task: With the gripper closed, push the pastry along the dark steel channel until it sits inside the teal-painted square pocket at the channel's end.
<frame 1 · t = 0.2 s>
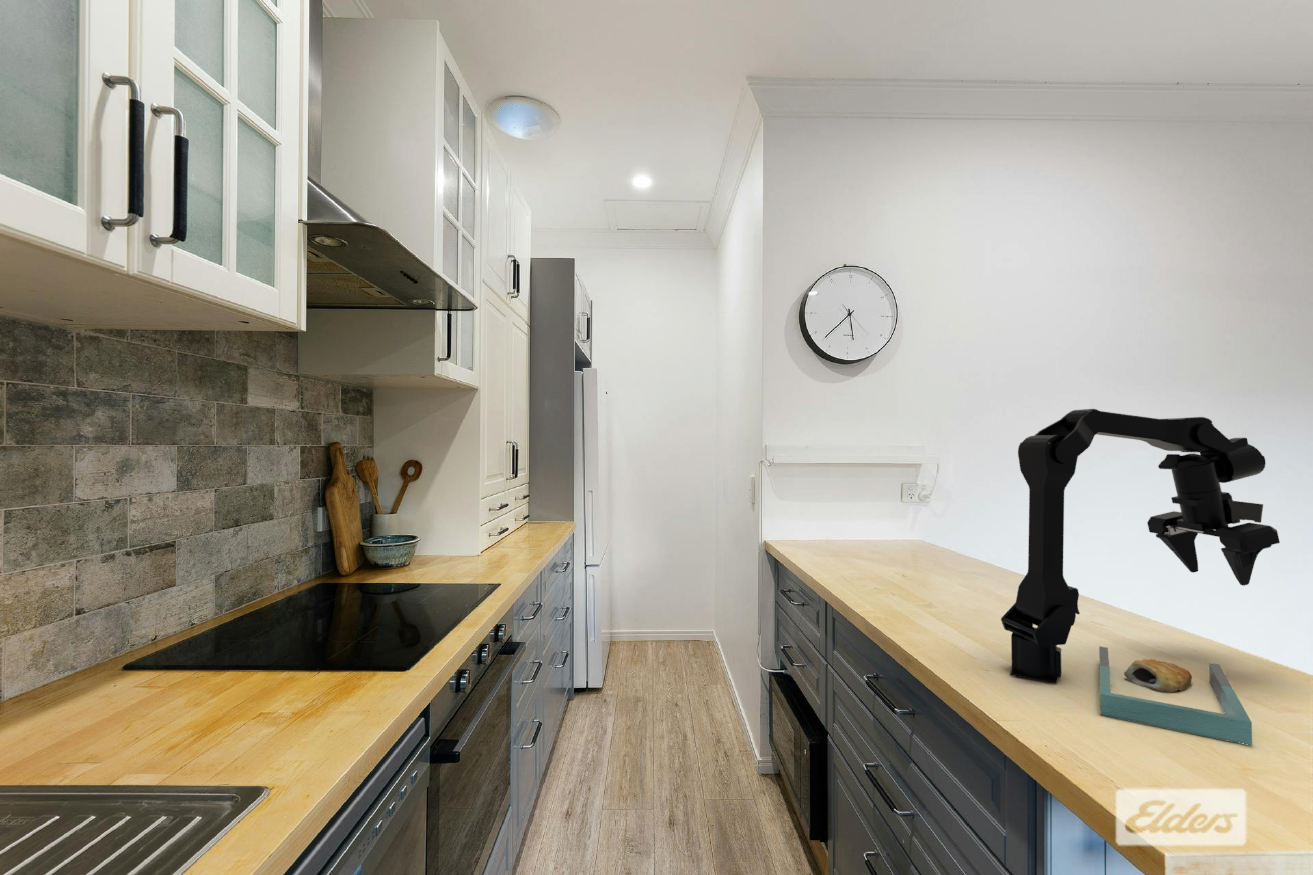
hand: (1218, 578, 103), 15 cm above the worktop, tool pointing down, fingers open, 9 cm apart
rail pocket: (1166, 710, 87), on the worktop
pastry: (1158, 685, 96), on the worktop
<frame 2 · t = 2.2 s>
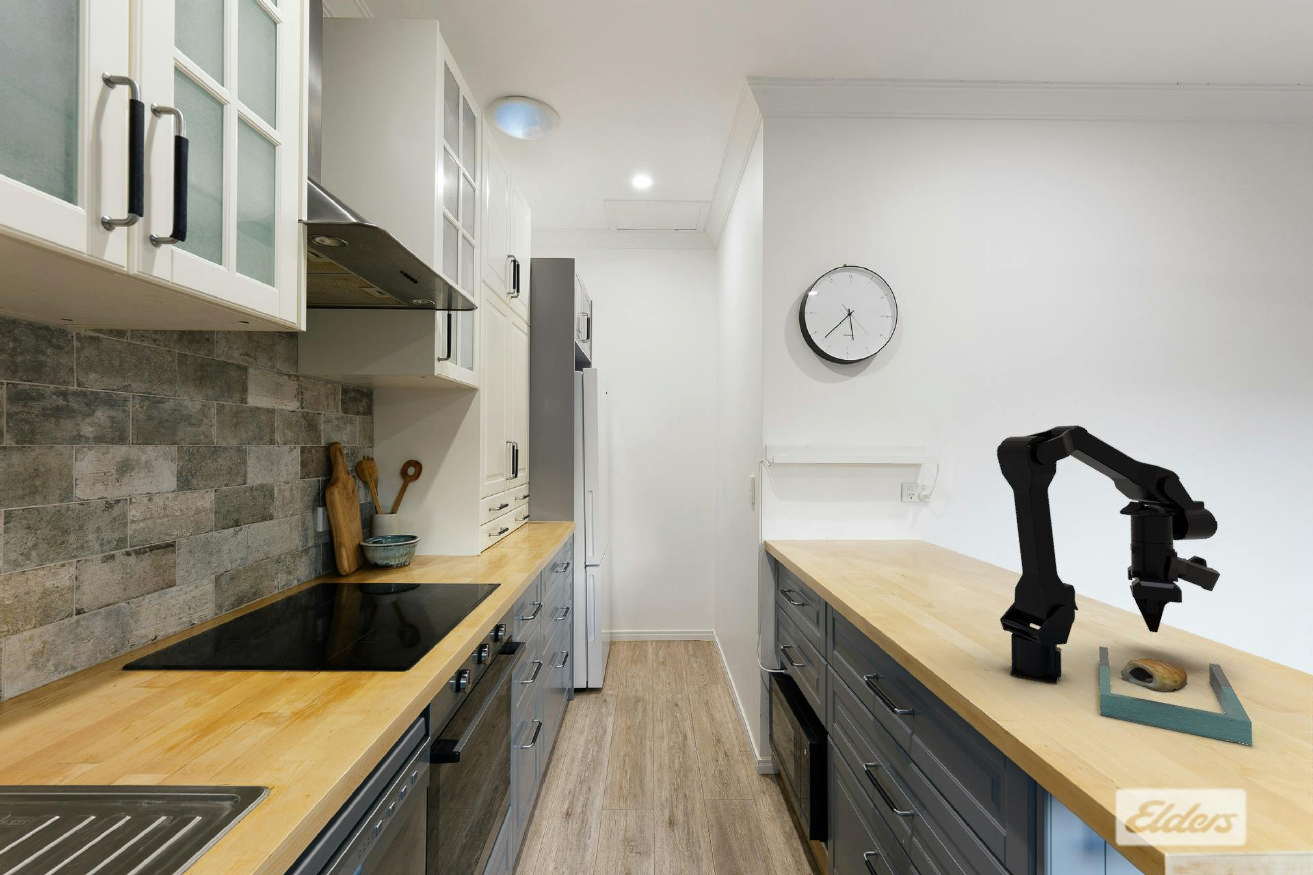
hand: (1153, 631, 104), 6 cm above the worktop, tool pointing down, fingers closed
nothing on the worktop moved.
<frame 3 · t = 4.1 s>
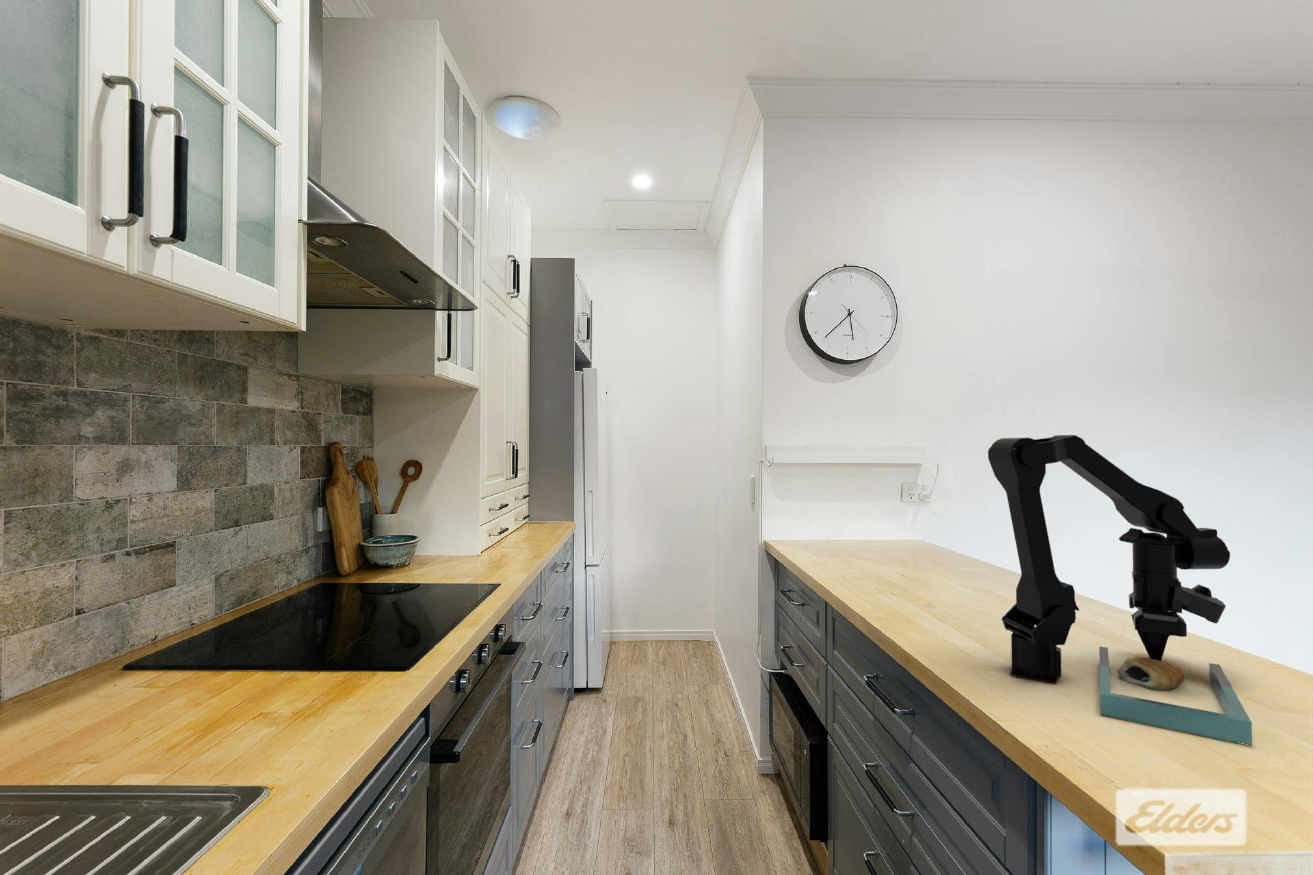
hand: (1156, 663, 101), 1 cm above the worktop, tool pointing down, fingers closed
pastry: (1150, 683, 97), on the worktop, touching gripper
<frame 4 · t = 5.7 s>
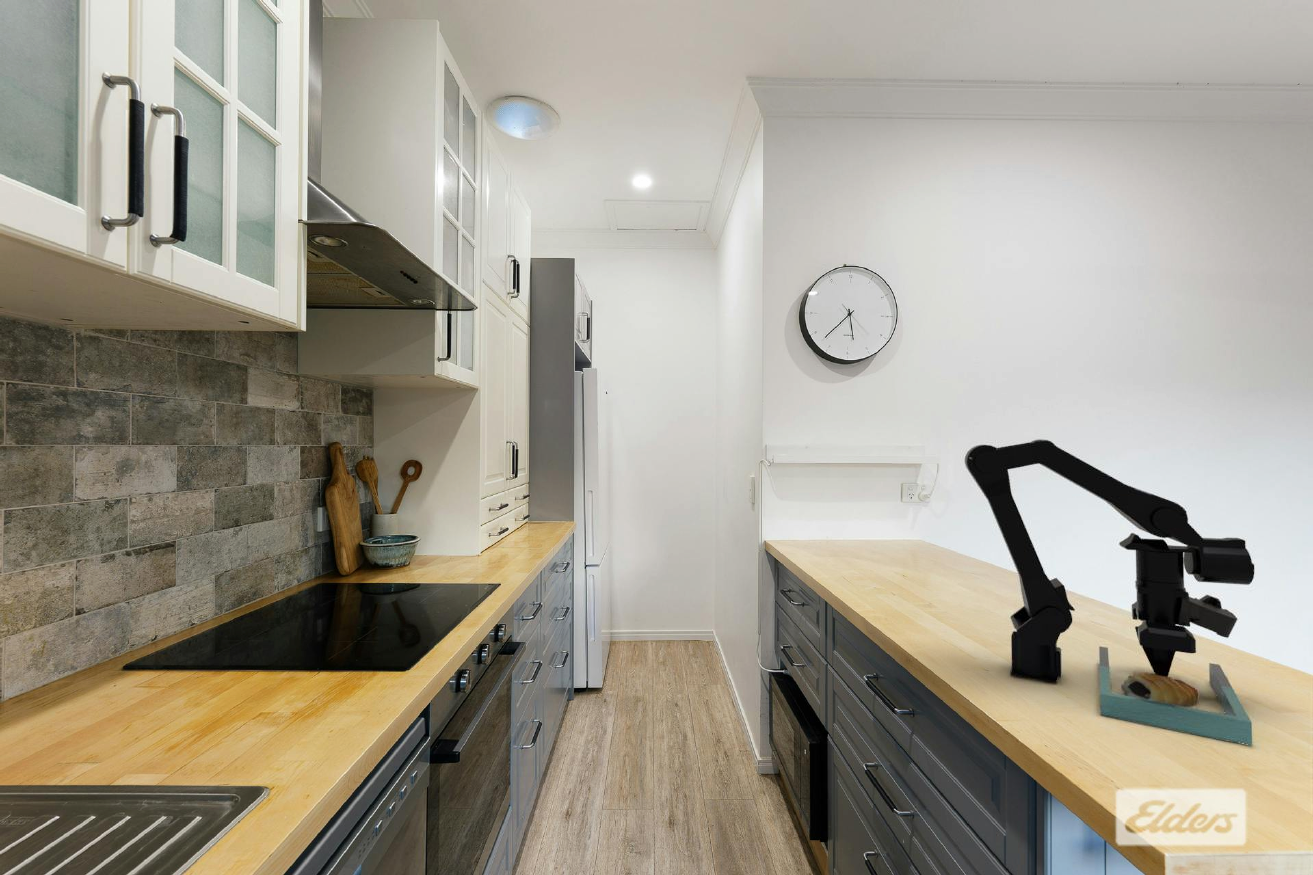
hand: (1161, 679, 94), 2 cm above the worktop, tool pointing down, fingers closed
pastry: (1159, 701, 90), on the worktop
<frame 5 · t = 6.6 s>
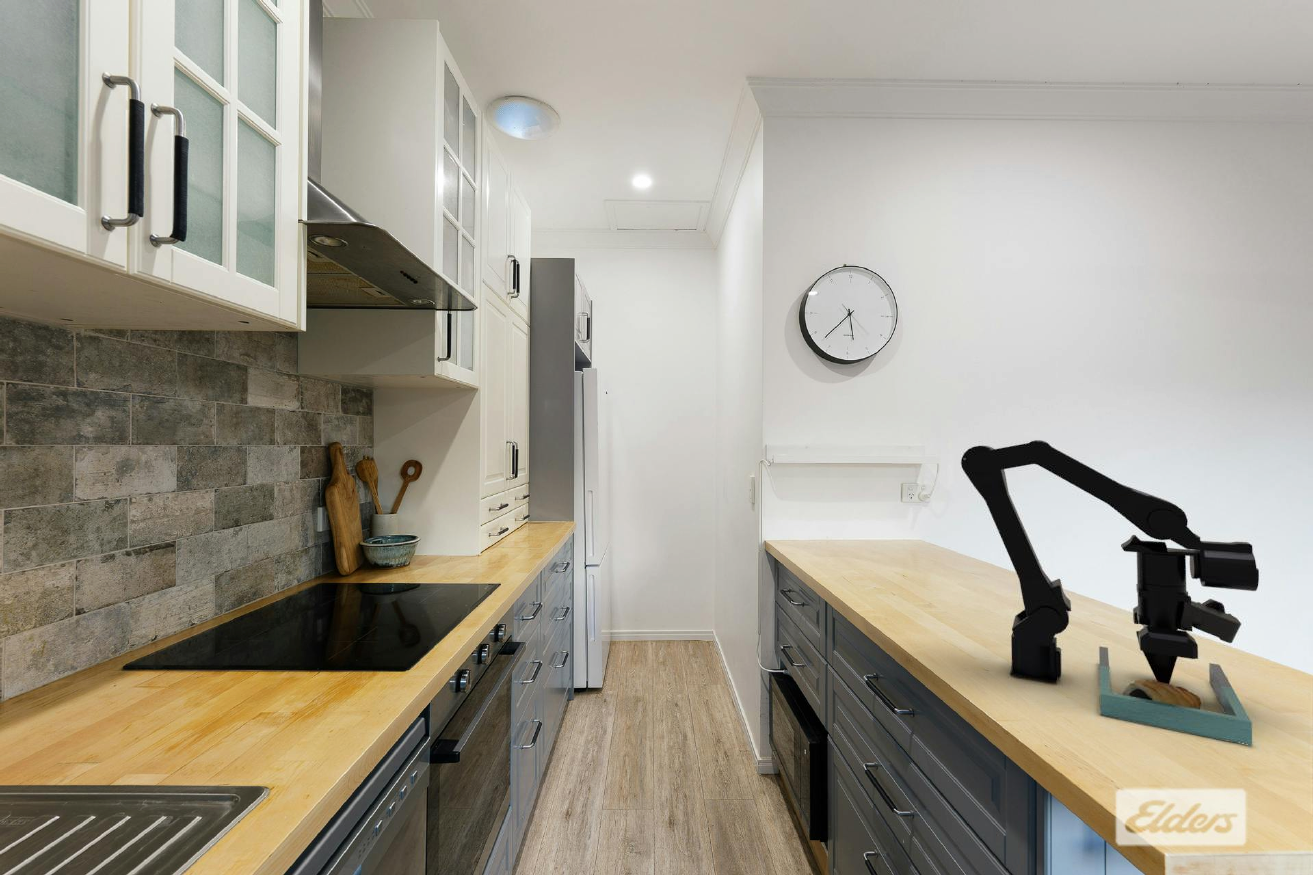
hand: (1163, 685, 91), 2 cm above the worktop, tool pointing down, fingers closed
pastry: (1161, 709, 88), on the worktop, touching gripper
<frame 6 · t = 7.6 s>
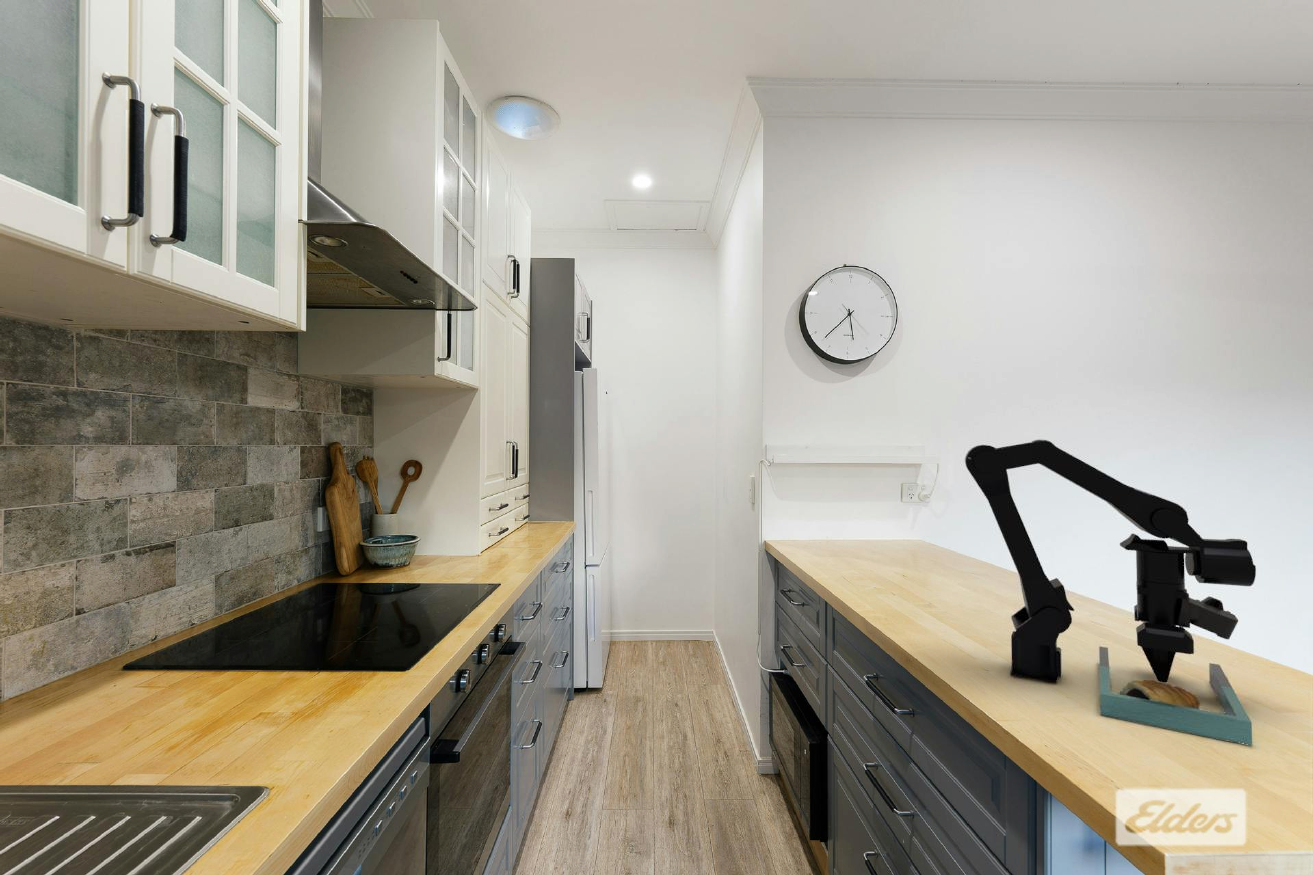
hand: (1162, 681, 93), 2 cm above the worktop, tool pointing down, fingers closed
pastry: (1158, 709, 88), on the worktop
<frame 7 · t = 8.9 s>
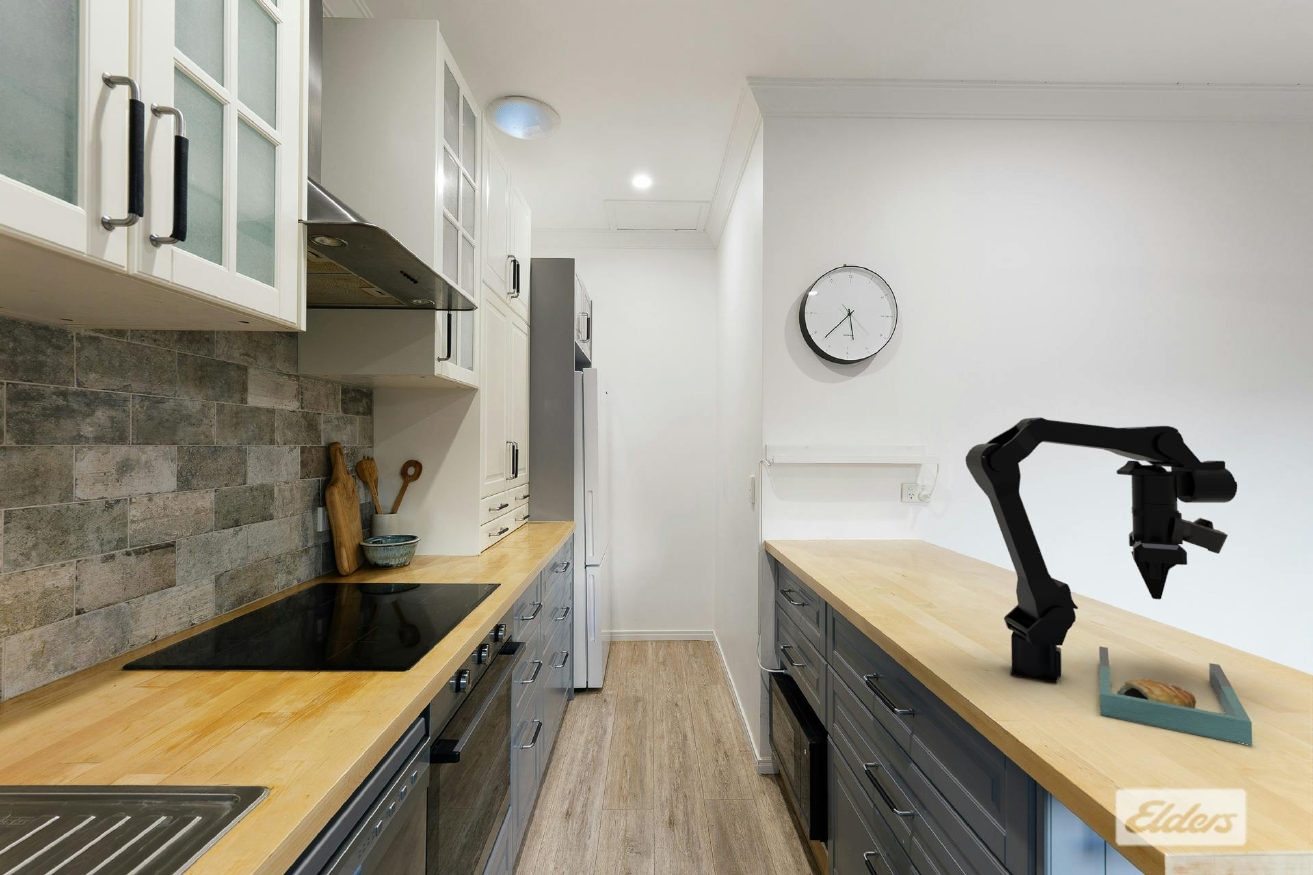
hand: (1156, 598, 98), 13 cm above the worktop, tool pointing down, fingers closed
nothing on the worktop moved.
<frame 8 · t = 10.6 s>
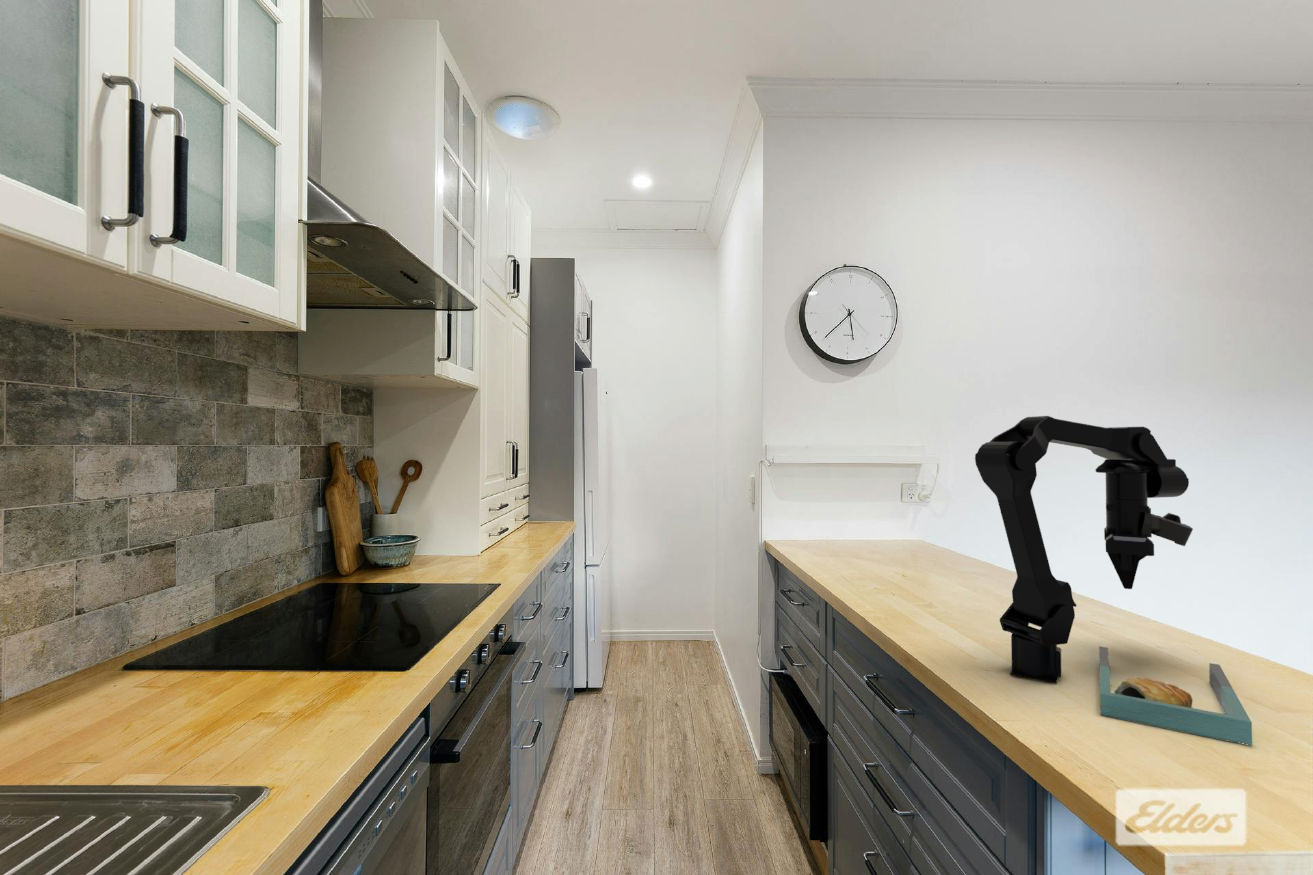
hand: (1127, 588, 105), 13 cm above the worktop, tool pointing down, fingers closed
nothing on the worktop moved.
at the end: pastry 2.3 cm off-centre on the rail pocket, point -0.5 cm above the rail pocket's base; pastry moved 10.9 cm from its start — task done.
